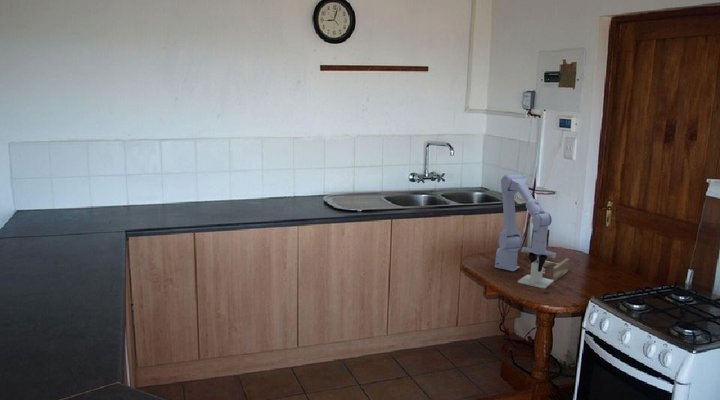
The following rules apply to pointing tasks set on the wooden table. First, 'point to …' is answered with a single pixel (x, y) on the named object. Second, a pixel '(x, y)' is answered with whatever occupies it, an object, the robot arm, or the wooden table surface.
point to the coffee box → (546, 242)
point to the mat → (541, 283)
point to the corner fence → (558, 268)
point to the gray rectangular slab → (535, 272)
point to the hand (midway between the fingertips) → (536, 270)
